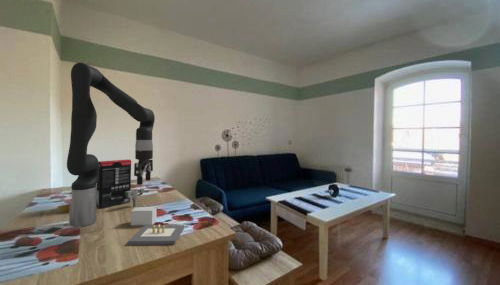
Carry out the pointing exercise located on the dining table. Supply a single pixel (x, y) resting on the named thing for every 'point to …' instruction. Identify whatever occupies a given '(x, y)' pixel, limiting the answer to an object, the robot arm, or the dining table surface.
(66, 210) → the sunglasses
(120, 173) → the graphics card box
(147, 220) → the plug housing
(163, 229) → the brass pins
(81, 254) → the dining table surface
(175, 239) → the header board
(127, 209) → the dining table surface
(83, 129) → the robot arm
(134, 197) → the mechanical component
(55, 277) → the dining table surface
